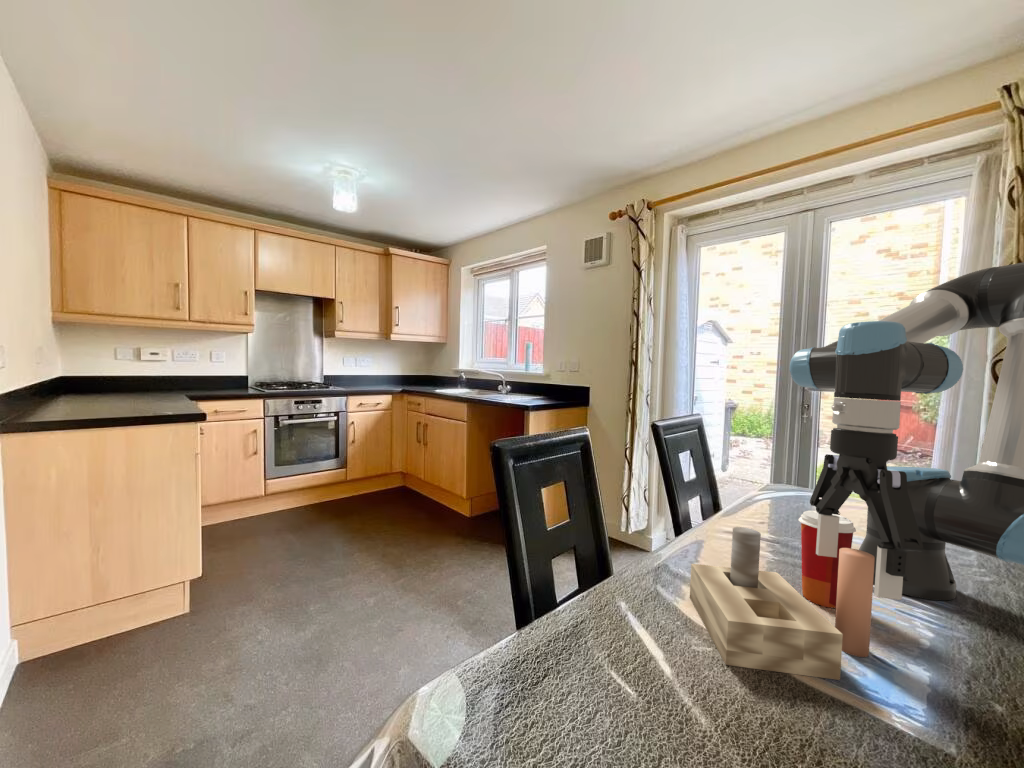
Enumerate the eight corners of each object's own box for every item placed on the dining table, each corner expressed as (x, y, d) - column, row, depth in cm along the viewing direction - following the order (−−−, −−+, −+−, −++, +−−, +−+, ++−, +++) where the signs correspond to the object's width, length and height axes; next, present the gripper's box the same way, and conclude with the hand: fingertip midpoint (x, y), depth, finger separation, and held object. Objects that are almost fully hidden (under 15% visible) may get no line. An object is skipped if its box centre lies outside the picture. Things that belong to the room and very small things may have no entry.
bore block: (775, 607, 73) (779, 526, 73) (840, 680, 55) (846, 573, 55) (689, 597, 75) (693, 518, 75) (725, 664, 57) (731, 561, 57)
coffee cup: (840, 593, 79) (845, 513, 79) (860, 616, 71) (865, 527, 71) (788, 584, 82) (792, 507, 82) (802, 605, 74) (806, 520, 74)
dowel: (857, 641, 64) (862, 549, 64) (875, 658, 60) (881, 560, 60) (828, 638, 65) (833, 546, 64) (844, 655, 61) (850, 557, 60)
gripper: (792, 420, 75) (783, 540, 75) (900, 437, 50) (887, 616, 50) (839, 423, 74) (830, 545, 74) (972, 442, 49) (959, 626, 49)
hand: (853, 574), depth 62 cm, fingers open, 13 cm apart
